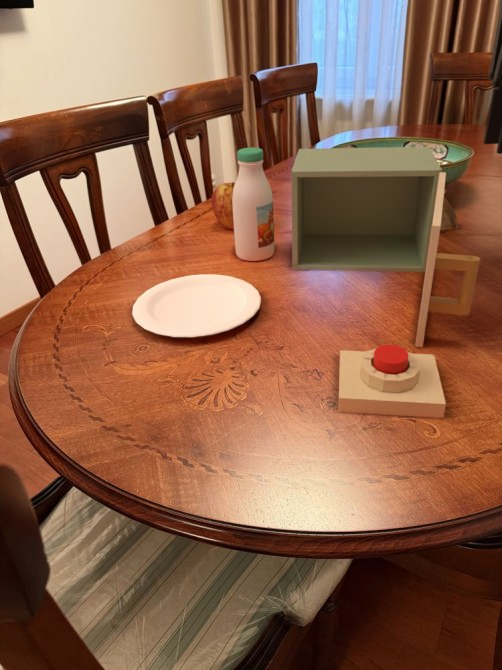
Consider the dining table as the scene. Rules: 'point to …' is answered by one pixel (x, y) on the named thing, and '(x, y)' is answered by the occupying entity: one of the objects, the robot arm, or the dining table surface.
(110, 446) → the dining table surface
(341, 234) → the cupboard
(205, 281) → the plate
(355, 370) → the button base
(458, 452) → the dining table surface
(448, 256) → the door
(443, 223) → the rock
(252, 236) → the milk bottle
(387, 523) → the dining table surface
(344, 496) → the dining table surface
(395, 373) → the button
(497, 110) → the robot arm
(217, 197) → the apple
